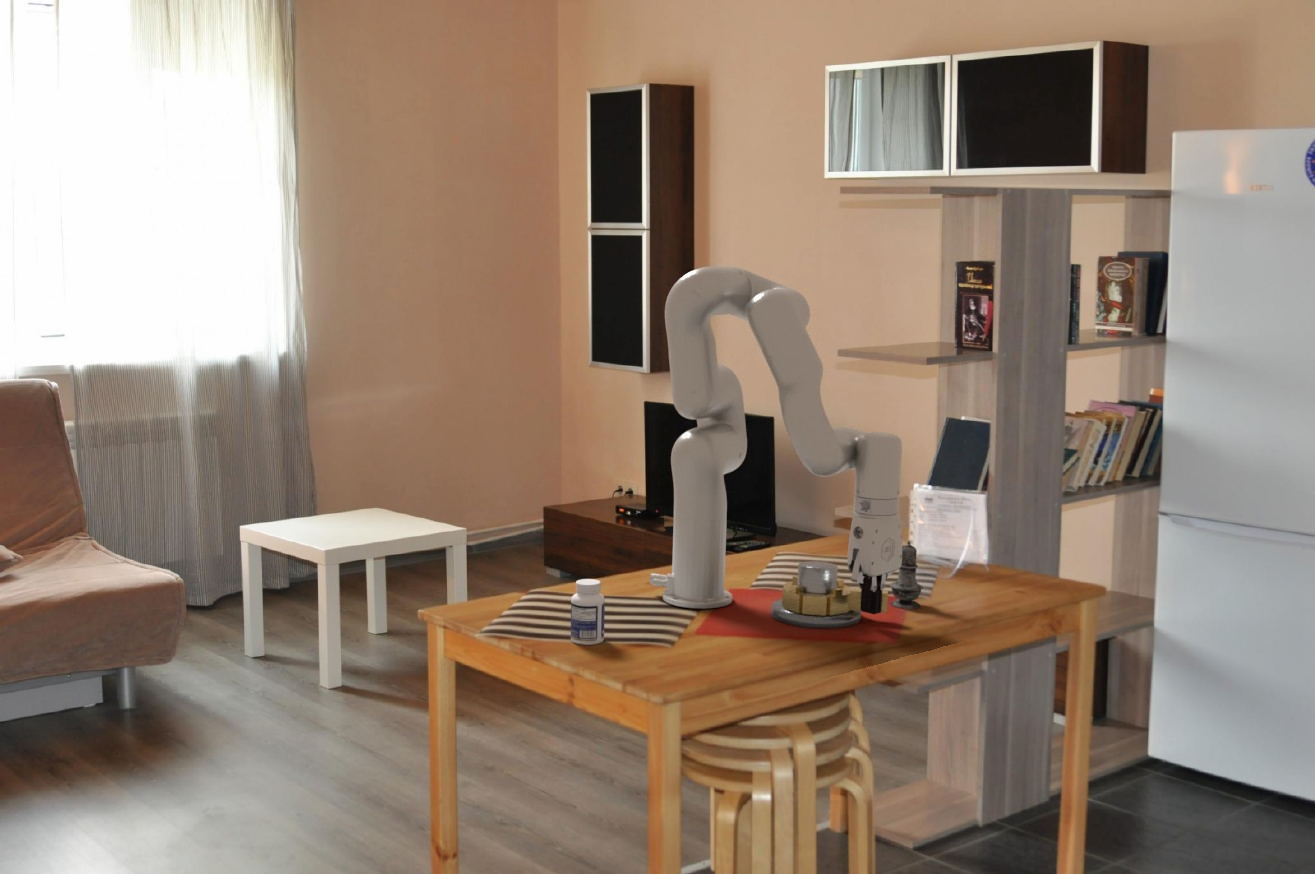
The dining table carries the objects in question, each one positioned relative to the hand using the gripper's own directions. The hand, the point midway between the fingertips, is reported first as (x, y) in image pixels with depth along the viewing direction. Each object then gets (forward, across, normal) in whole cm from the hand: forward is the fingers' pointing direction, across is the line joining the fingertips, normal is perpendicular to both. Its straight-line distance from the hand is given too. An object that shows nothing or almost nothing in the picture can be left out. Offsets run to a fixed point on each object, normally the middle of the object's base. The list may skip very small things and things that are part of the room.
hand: (870, 611), depth 226 cm
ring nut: (+1, 0, +8) cm, 8 cm away
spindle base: (+3, -2, +10) cm, 11 cm away
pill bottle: (+3, -42, +25) cm, 49 cm away
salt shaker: (+3, +17, +4) cm, 18 cm away
